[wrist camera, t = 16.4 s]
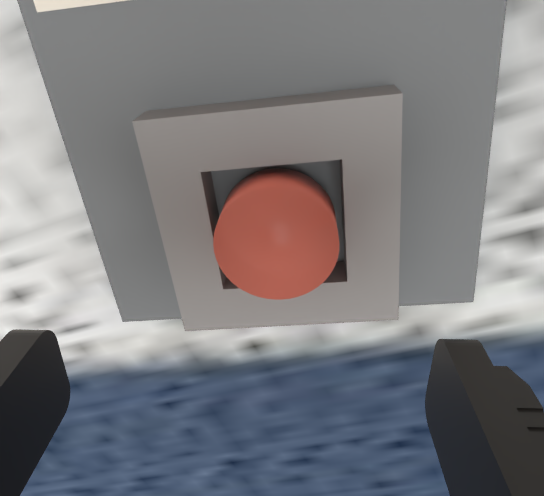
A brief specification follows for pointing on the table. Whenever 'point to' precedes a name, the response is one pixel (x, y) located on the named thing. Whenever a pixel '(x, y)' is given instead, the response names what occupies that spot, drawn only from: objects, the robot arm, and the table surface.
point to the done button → (277, 235)
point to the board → (267, 64)
